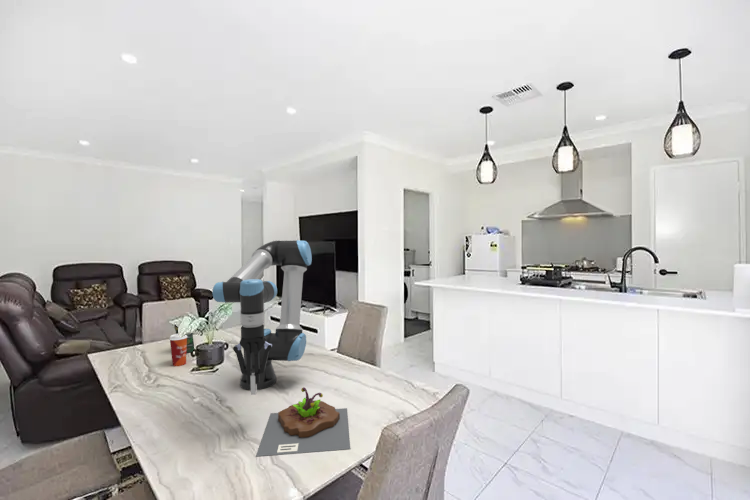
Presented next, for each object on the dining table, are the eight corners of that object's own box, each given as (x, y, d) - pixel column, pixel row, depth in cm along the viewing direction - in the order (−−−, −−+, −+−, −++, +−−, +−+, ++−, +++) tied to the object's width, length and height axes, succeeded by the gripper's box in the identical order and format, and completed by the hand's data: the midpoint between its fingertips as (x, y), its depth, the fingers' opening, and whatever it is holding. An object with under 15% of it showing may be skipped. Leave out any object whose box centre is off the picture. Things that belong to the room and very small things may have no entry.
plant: (317, 401, 142) (316, 373, 142) (347, 420, 127) (347, 389, 127) (268, 419, 129) (268, 388, 129) (296, 443, 114) (295, 408, 114)
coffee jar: (177, 355, 199) (176, 322, 198) (173, 352, 205) (172, 319, 204) (196, 351, 205) (195, 319, 205) (192, 348, 211) (191, 316, 210)
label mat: (255, 456, 108) (255, 456, 108) (270, 413, 134) (270, 413, 134) (350, 449, 111) (350, 448, 111) (347, 408, 137) (347, 407, 137)
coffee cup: (180, 367, 181) (179, 337, 180) (166, 366, 183) (165, 337, 182) (192, 361, 189) (191, 333, 188) (178, 360, 191) (177, 332, 190)
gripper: (229, 328, 120) (231, 399, 121) (270, 326, 122) (271, 396, 122) (235, 323, 128) (237, 389, 128) (273, 321, 129) (275, 387, 130)
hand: (253, 393), depth 125 cm, fingers closed
